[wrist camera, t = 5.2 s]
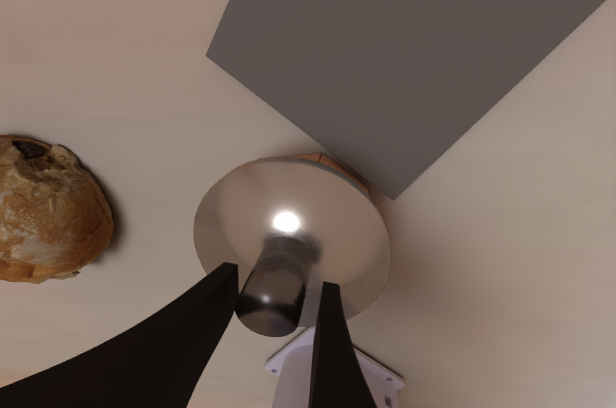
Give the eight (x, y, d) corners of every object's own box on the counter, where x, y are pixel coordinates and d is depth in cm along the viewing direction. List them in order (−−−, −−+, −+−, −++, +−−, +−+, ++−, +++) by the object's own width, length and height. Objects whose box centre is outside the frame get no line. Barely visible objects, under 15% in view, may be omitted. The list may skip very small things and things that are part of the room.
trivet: (631, -34, 10) (646, -38, 9) (392, 195, 15) (393, 200, 15) (378, -322, 8) (379, -349, 7) (211, 56, 14) (205, 55, 13)
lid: (434, 247, 12) (466, 325, 8) (307, 337, 16) (293, 413, 13) (265, 107, 10) (217, 131, 7) (174, 247, 15) (115, 306, 11)
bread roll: (156, 172, 22) (67, 165, 14) (115, 288, 22) (7, 344, 14) (40, 126, 22) (-118, 91, 14) (1, 244, 22) (-170, 276, 14)
